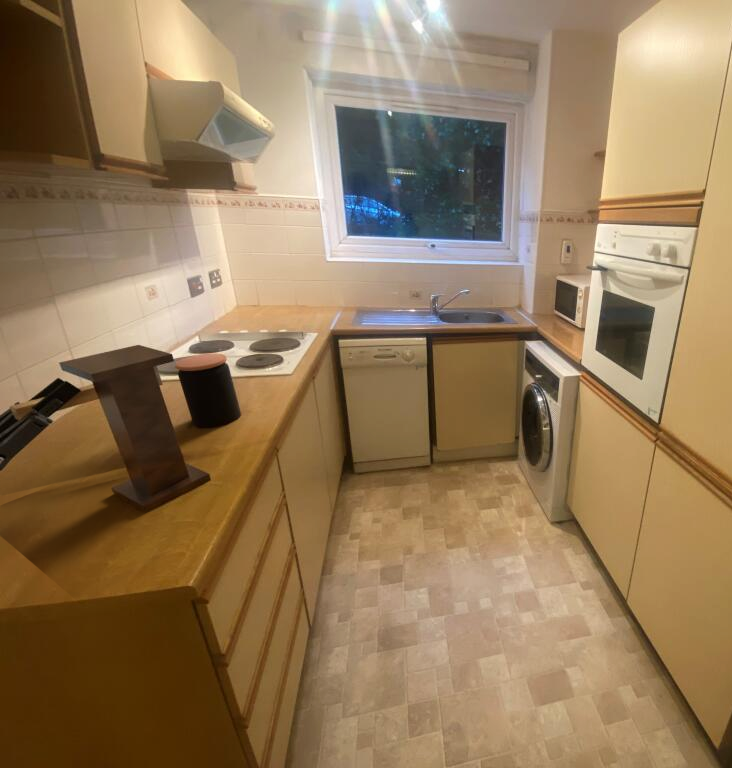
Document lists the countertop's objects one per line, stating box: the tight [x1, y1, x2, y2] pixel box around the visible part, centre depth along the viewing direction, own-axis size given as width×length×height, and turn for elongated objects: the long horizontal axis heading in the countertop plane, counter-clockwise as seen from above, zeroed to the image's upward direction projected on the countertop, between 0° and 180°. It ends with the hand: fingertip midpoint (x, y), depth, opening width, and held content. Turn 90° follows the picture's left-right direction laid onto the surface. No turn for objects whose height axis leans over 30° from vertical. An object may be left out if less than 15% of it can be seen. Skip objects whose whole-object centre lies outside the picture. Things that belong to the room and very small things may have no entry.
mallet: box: [9, 366, 164, 420], centre depth 85 cm, size 21×8×5 cm, turn 153°
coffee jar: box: [174, 352, 242, 429], centre depth 111 cm, size 11×11×18 cm
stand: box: [58, 344, 212, 513], centre depth 84 cm, size 12×12×28 cm
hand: (69, 384), depth 82 cm, fingers closed on mallet, 2 cm apart
